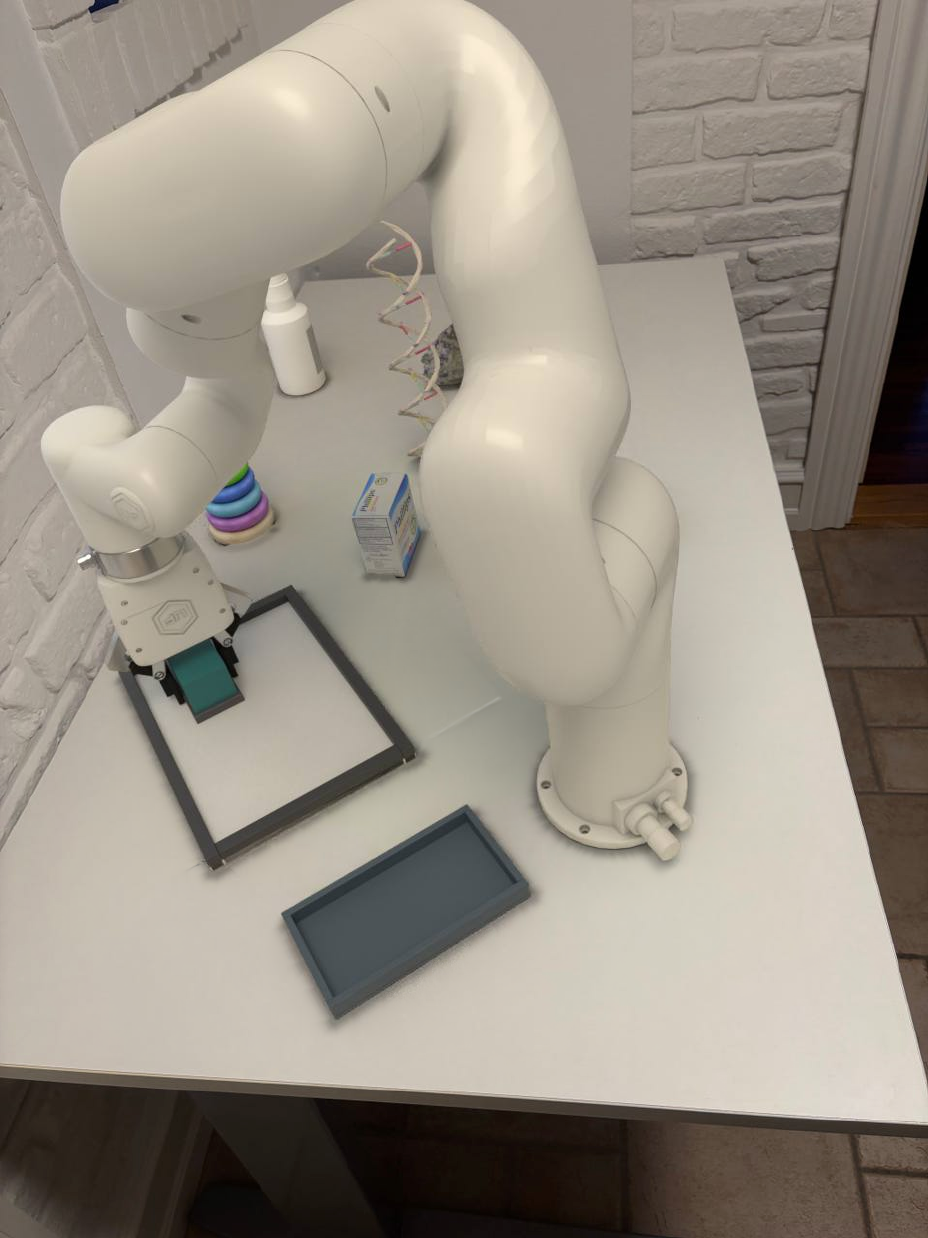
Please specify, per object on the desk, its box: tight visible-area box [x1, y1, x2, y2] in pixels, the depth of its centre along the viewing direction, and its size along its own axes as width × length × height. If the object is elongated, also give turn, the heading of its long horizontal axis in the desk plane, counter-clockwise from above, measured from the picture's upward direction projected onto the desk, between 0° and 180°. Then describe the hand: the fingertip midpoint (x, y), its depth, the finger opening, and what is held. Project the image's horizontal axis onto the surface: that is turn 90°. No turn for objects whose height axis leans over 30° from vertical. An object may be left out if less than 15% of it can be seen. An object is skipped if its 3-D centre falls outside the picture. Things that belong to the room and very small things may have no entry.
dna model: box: [365, 220, 448, 458], centre depth 109 cm, size 7×6×30 cm
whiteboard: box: [117, 584, 417, 873], centre depth 92 cm, size 28×20×2 cm
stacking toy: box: [204, 461, 275, 546], centre depth 110 cm, size 8×8×19 cm
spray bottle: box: [260, 272, 327, 396], centre depth 134 cm, size 7×7×18 cm
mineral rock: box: [420, 323, 464, 386], centre depth 132 cm, size 13×11×10 cm
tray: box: [280, 804, 531, 1021], centre depth 75 cm, size 9×17×2 cm, turn 121°
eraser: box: [165, 638, 245, 724], centre depth 95 cm, size 10×5×5 cm, turn 31°
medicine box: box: [350, 472, 421, 578], centre depth 105 cm, size 8×4×9 cm, turn 168°
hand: (204, 681), depth 96 cm, fingers closed on eraser, 5 cm apart
